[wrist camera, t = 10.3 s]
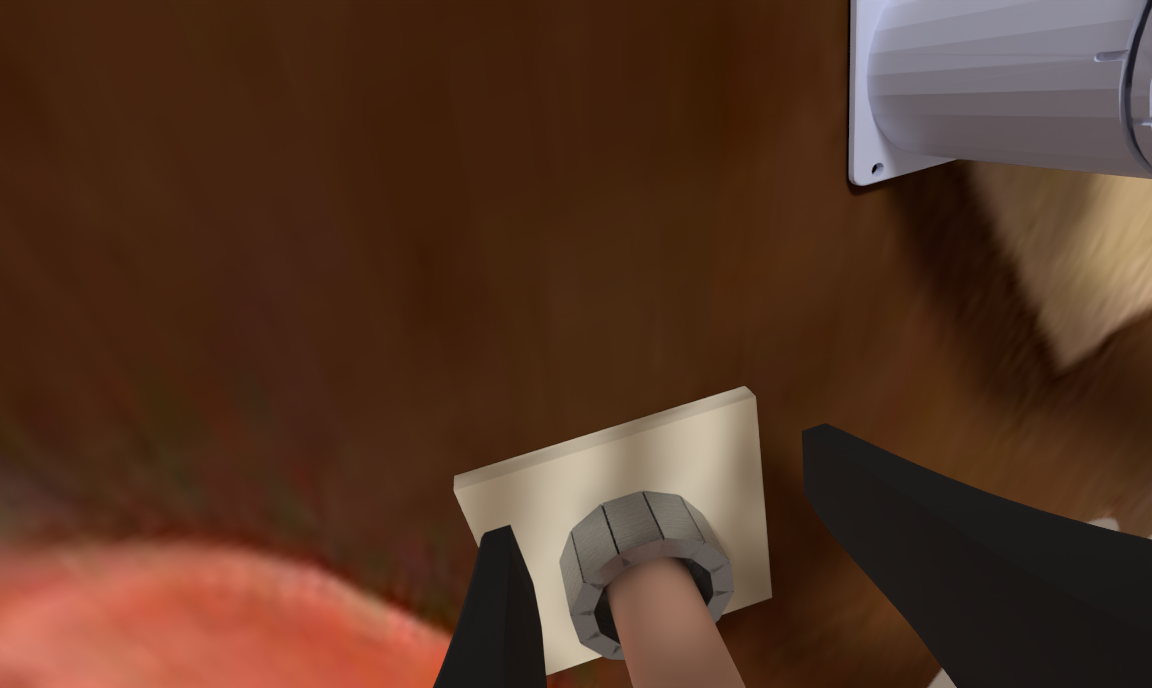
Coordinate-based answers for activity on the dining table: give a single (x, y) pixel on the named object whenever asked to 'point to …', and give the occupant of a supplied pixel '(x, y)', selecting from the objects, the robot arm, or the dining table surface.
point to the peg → (668, 628)
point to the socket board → (632, 516)
